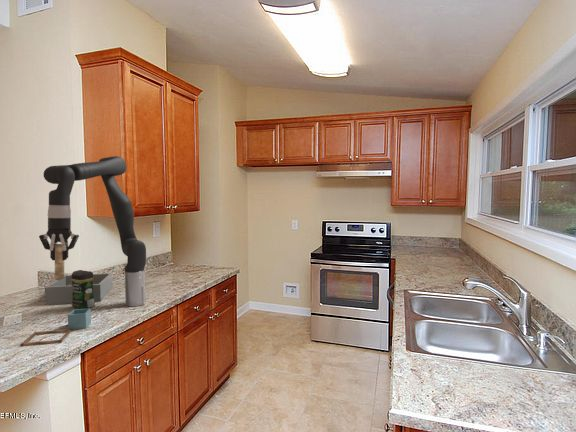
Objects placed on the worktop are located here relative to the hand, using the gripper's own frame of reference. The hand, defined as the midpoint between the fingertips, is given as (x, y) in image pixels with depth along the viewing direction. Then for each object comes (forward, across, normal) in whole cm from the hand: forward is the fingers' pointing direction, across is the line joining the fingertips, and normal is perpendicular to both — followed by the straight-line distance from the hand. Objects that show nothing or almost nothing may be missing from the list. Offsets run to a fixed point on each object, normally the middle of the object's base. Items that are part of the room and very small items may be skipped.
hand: (59, 259), depth 136 cm
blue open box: (+30, -6, -6) cm, 31 cm away
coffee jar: (+30, +2, -34) cm, 45 cm away
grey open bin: (+30, +9, -55) cm, 63 cm away
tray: (+31, +2, +4) cm, 31 cm away
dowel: (+8, 0, 0) cm, 8 cm away
